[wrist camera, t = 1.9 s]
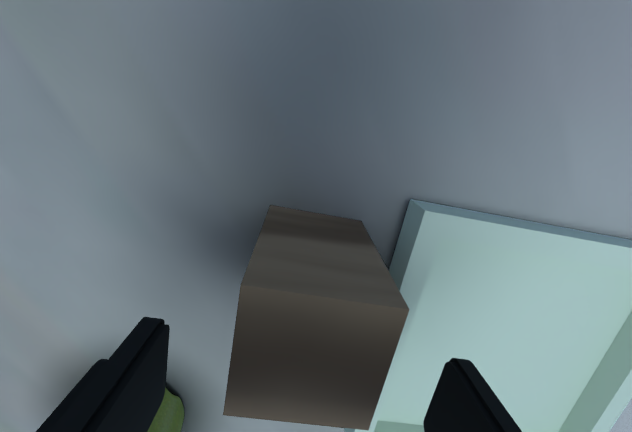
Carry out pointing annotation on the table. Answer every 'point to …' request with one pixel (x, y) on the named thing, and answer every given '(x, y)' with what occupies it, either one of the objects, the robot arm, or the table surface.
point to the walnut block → (313, 323)
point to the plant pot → (168, 415)
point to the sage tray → (511, 319)
